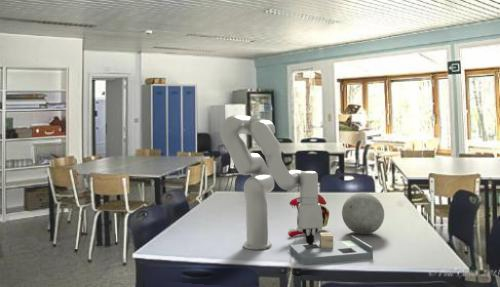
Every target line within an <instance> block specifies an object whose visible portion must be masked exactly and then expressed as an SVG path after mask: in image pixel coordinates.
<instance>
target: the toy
mask: <svg viewBox="0 0 500 287" xmlns="http://www.w3.org/2000/svg"><path fill="white" fill-rule="evenodd" d="M299 198H300V196H298V197H295V198H293V199H291V200H290V201H289V205H290V206H291V207H292V209H293V208H294V209H296V210H298V206H299V204H300V202H297V199H299ZM318 203H319V204H320V205H321V210H322V218H323V226H322V228H323V227H324V228H325V227H327V225H328V223H329V219H330V211H329V209H328V208H327V207H326V206H325V205H327V201H326V200H325V198H324V197H323V196H322V195H321V194H319V193H318ZM287 234H288V236H289V237H290V238H293V237H296V236H299V235H306V234H305V233H304V232H301V231H298V230H297V228H296V229H295V228H290V230H288V231H287ZM309 234H310V229H309Z"/></svg>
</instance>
